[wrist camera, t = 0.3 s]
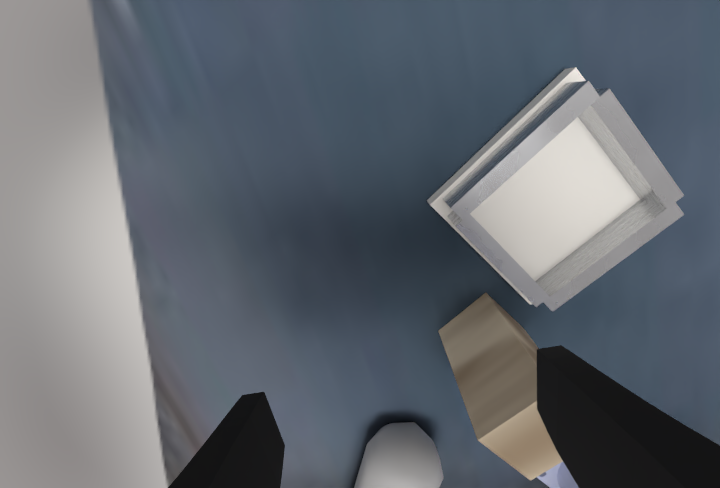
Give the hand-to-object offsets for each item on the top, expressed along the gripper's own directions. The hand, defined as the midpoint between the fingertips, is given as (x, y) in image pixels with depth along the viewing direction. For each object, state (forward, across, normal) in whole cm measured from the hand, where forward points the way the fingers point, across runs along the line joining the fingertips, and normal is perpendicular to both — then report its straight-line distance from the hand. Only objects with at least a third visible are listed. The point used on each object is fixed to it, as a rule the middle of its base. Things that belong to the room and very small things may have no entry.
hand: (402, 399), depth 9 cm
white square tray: (+10, -8, -2) cm, 13 cm away
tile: (+10, -8, -2) cm, 13 cm away
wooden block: (+10, -5, +6) cm, 12 cm away
